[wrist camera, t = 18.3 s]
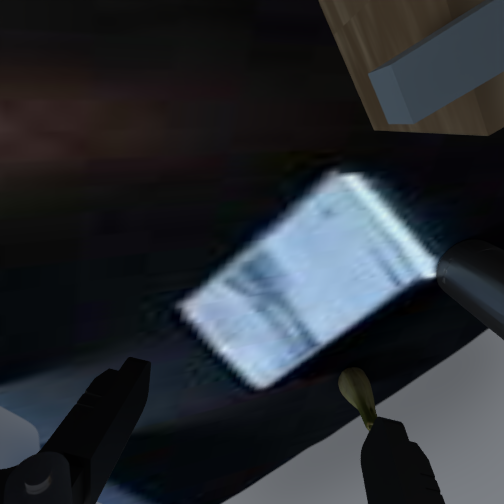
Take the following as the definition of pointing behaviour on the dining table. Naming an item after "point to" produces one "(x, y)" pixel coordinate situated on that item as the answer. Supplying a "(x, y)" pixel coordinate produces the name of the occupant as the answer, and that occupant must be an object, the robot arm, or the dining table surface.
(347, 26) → the plinth
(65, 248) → the dining table surface
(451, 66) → the blue-gray bar
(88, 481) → the robot arm
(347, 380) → the fennel bulb
